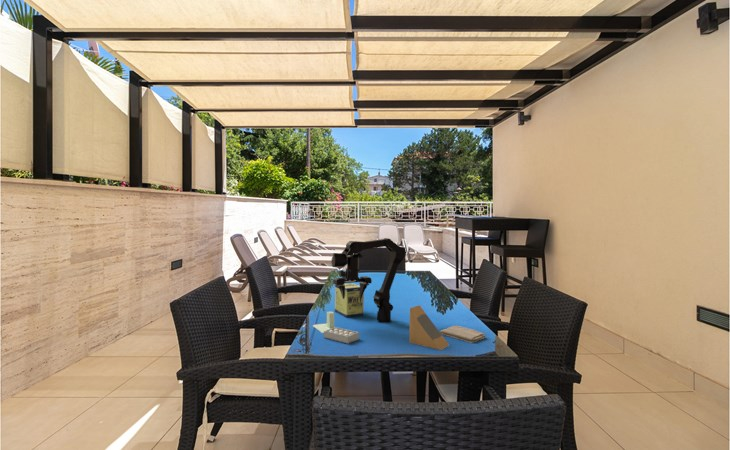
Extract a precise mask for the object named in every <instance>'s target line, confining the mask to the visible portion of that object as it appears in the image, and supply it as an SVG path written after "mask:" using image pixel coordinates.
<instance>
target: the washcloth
mask: <svg viewBox="0 0 730 450" xmlns="http://www.w3.org/2000/svg"><path fill="white" fill-rule="evenodd" d="M439 332H440V333H441V334H442V336H445V335H446V337H449V336H450V337H449V338H452V337H453V339H457V340H459V339H460V341H463V340H464V342H467V343H470V342H471V343H470V344H473V343H478V342H480V341H482V340H481V339H483V340H484V338H485V339H487V335H486V334H485V333H484V332H480V331H478V330H476V329H473V328H469V327H465V326H461V325H460V326H459V325H452V326H449V327H448V328H444V329H442V330H440V331H439ZM479 340H480V341H479ZM477 341H478V342H477Z"/></svg>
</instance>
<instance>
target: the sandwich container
mask: <svg viewBox="0 0 730 450" xmlns="http://www.w3.org/2000/svg"><path fill="white" fill-rule="evenodd" d="M408 337H409V339H408V340H409V343H410V344H413V345H419V346H421V347H422V346H423V347H424V348H425V347H426V348H430V347H431V348H430V349H434V348H435V349H434V350H438V349H439V351H442V349H443V350H445V349H446V348H445V347H447V346H448V345H450V344H449V342H448V341H447V340H446V338H445V337H444V335H442V334H441V333H440V331H439V329H438V328H437V327H436V325H435V323H433V321H432V320H431V318H430V317H429V316H428V315H427V313H426V312H425V311H424V309H423V308H422V306H421V305H420V304H418V305H416V306H412V307H409V336H408ZM448 347H449V346H448ZM448 347H447V348H448ZM444 348H445V349H444Z"/></svg>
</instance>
